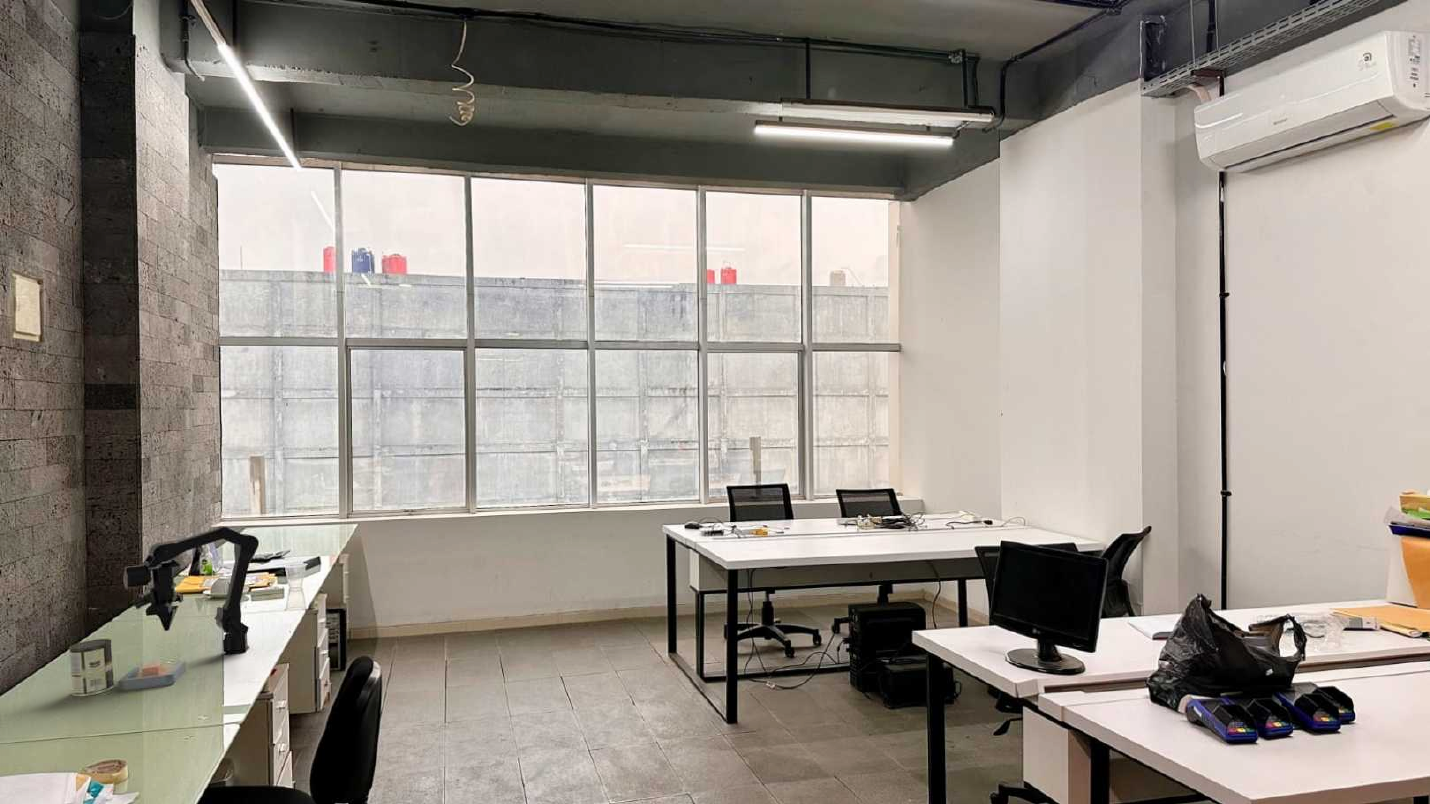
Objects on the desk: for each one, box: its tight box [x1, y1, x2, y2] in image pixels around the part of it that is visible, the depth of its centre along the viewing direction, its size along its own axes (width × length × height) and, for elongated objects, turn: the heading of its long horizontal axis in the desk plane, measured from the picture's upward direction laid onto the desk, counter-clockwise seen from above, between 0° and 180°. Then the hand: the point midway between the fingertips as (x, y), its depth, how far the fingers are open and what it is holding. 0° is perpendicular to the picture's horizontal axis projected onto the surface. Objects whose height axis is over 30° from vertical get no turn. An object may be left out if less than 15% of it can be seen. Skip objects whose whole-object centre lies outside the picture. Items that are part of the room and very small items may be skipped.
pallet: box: [136, 668, 173, 678], centre depth 266 cm, size 9×9×2 cm
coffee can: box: [68, 638, 115, 697], centre depth 260 cm, size 10×10×14 cm
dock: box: [117, 661, 187, 692], centre depth 266 cm, size 14×14×3 cm
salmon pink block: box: [141, 662, 164, 677], centre depth 266 cm, size 4×4×3 cm
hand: (166, 630), depth 280 cm, fingers closed
